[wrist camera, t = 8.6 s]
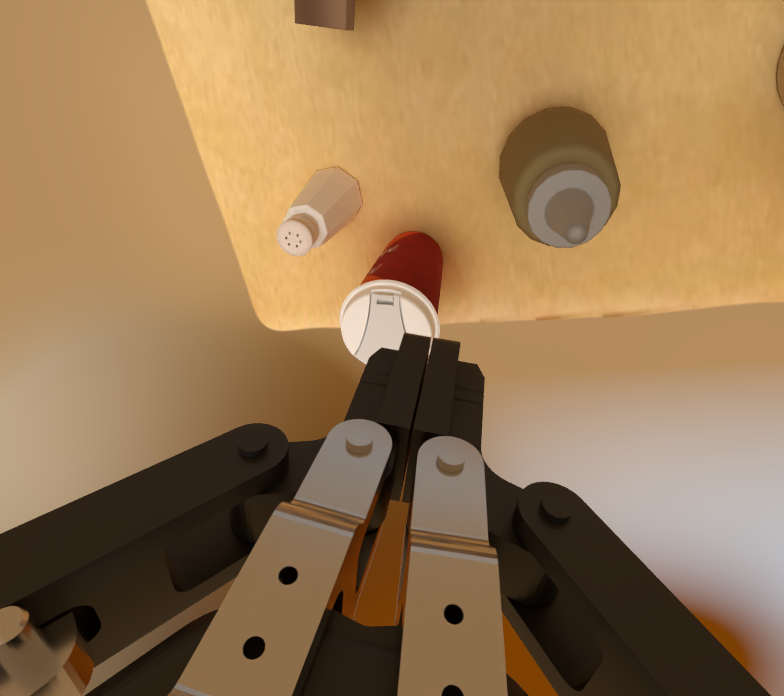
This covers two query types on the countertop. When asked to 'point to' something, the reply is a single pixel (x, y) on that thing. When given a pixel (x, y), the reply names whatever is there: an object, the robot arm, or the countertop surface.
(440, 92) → the countertop surface
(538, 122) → the squeeze bottle
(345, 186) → the salt shaker
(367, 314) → the paper cup
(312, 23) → the lever
